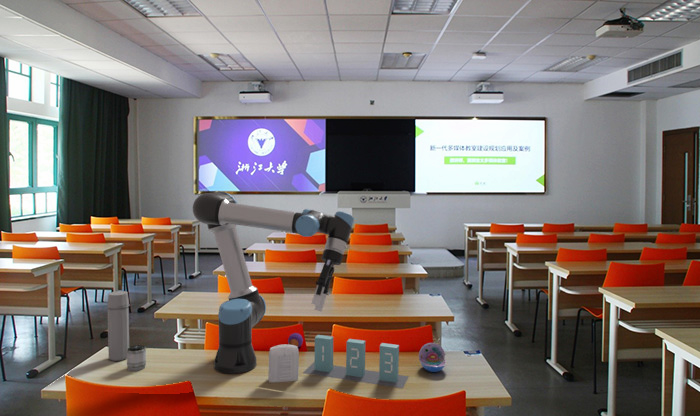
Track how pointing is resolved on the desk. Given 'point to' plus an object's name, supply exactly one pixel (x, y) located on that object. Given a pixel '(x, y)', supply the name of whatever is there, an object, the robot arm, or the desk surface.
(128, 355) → the camera lens
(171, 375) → the desk surface
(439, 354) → the cell model
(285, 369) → the photo printer
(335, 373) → the mat
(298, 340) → the kendama
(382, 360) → the tile
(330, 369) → the tile
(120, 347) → the water bottle
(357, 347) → the tile
